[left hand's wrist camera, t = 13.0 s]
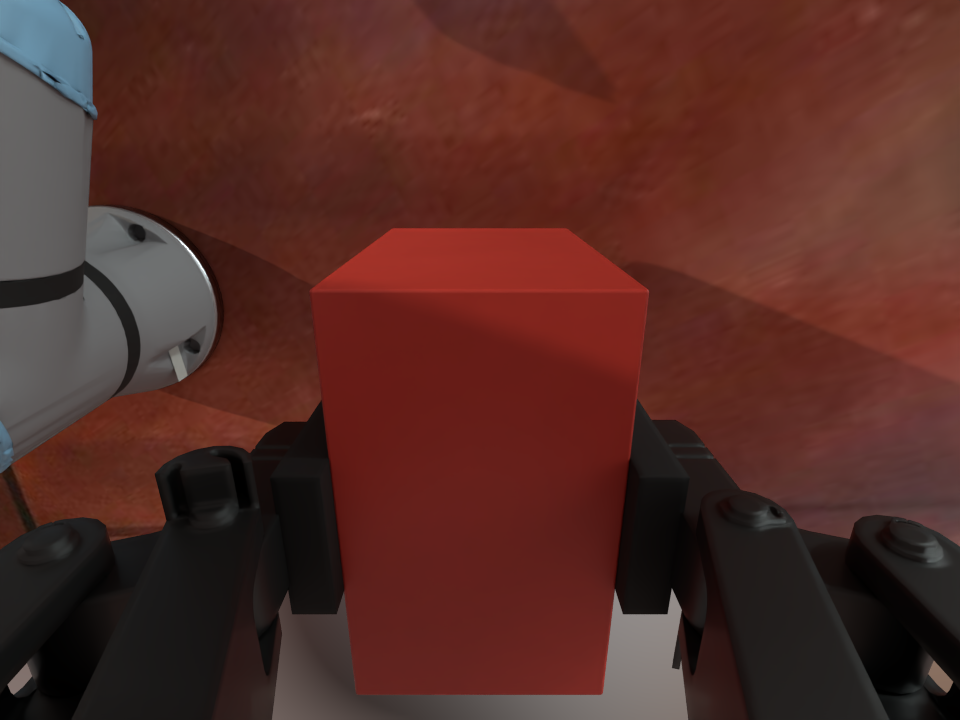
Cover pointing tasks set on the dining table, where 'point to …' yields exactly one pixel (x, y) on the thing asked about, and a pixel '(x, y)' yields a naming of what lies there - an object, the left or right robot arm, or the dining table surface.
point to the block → (479, 455)
